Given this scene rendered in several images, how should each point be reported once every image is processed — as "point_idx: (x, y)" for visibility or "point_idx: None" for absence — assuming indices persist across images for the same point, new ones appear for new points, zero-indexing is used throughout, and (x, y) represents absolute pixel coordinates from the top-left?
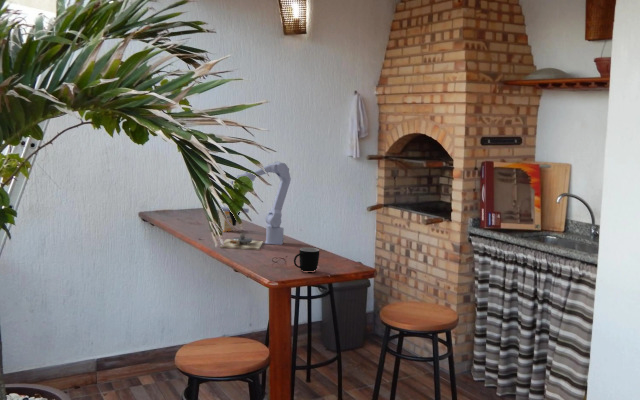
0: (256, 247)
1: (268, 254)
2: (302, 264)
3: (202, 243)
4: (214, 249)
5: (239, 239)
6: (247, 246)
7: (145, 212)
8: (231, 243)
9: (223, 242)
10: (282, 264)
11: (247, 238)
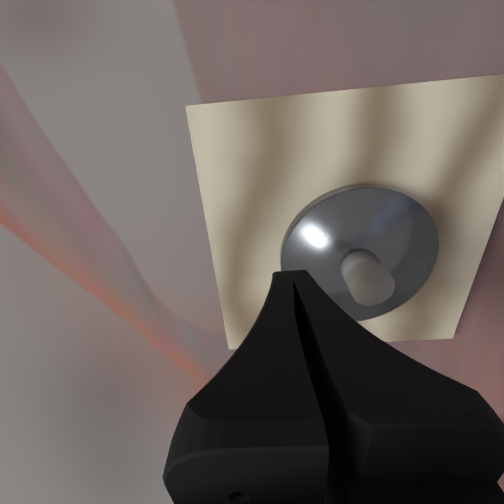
0: (439, 327)
1: (480, 391)
2: None
3: (84, 264)
4: (216, 372)
5: (337, 293)
6: (384, 318)
7: None
8: (273, 269)
9: (213, 255)
10: (498, 483)
11: (401, 236)
